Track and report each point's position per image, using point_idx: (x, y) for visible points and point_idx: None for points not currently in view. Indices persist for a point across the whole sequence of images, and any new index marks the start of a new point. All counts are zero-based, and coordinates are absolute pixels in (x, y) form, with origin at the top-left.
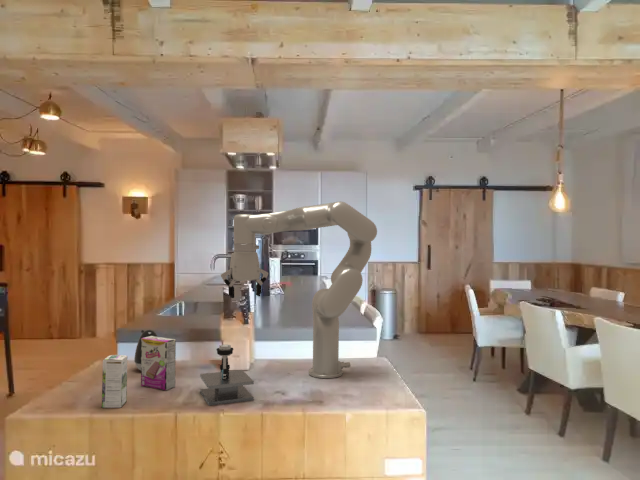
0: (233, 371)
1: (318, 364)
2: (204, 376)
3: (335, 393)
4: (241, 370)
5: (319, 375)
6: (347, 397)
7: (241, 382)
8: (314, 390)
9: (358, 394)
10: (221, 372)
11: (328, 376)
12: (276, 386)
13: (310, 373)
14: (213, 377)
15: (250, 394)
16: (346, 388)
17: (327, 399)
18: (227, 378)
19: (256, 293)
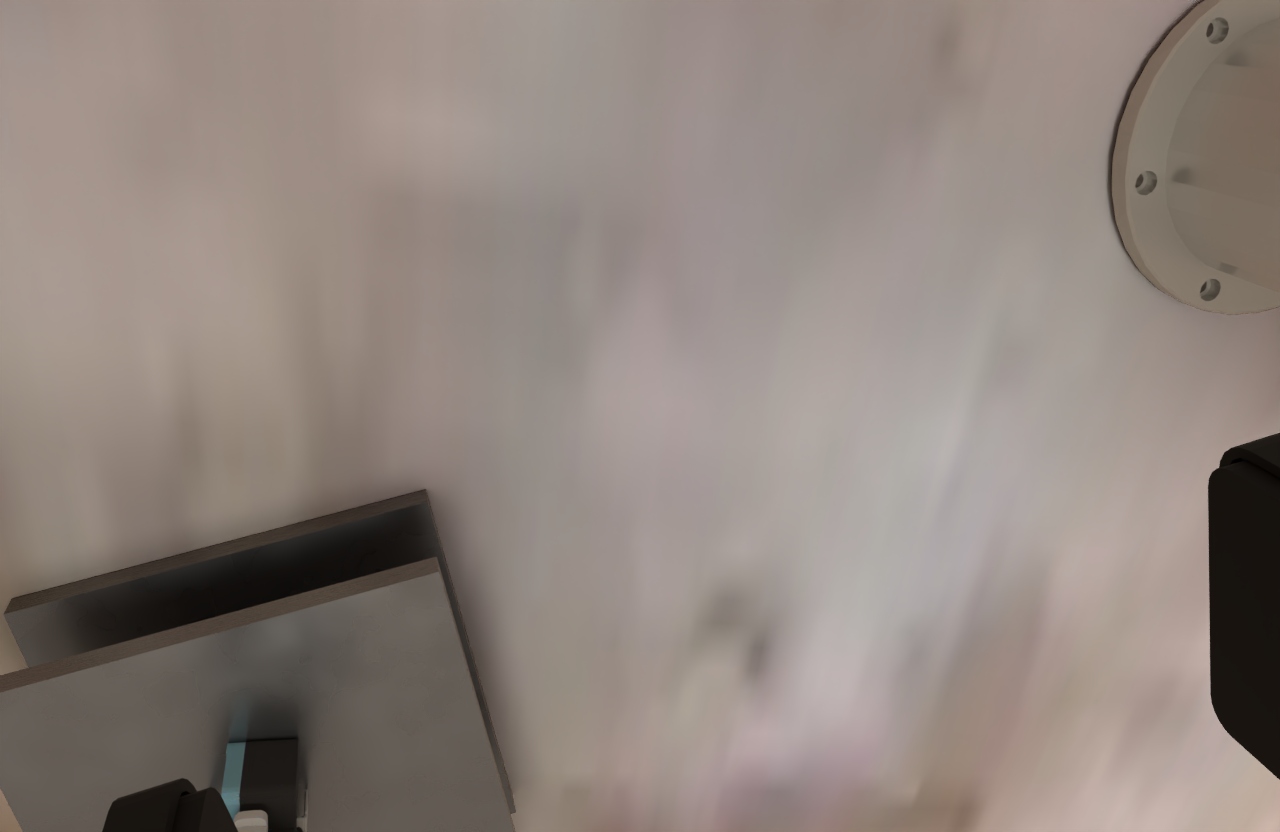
0: (343, 628)
1: (1246, 264)
2: (30, 788)
3: (1112, 667)
4: (431, 594)
5: (1170, 291)
6: (1148, 745)
7: None
8: (1001, 597)
9: None
10: (207, 657)
11: (1230, 313)
12: (739, 478)
13: (1123, 202)
14: None
15: (494, 758)
16: None
17: (1016, 779)
18: None
19: (1265, 560)
